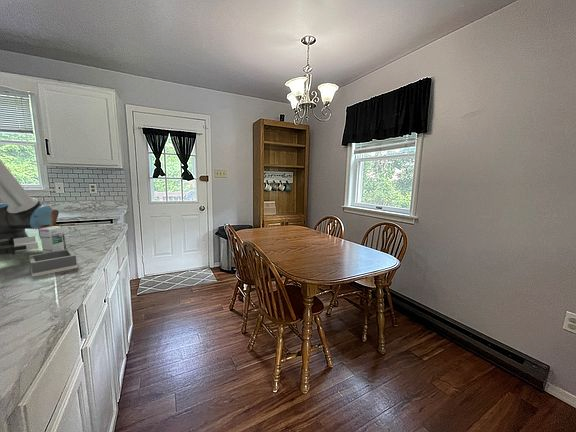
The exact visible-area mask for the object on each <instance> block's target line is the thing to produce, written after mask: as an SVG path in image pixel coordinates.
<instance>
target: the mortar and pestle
mask: <svg viewBox="0 0 576 432" xmlns="http://www.w3.org/2000/svg"><path fill="white" fill-rule="evenodd" d="M59 214H60V213H59V210H57V209H53V210H52V211H51V221H50V224H49V225H41V226H38V229H37V231H38V236H39V238H40V239H39V240H41V237H40V231H39V229H42V228H48V227H53V226H61V227H63V224H61V223H59V224H58V223H57V221H58V217H59Z"/></svg>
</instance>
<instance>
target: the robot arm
mask: <svg viewBox="0 0 576 432" xmlns="http://www.w3.org/2000/svg"><path fill="white" fill-rule="evenodd" d="M0 199H1V200H2V201H3V202H4V203H0V256H2V255H15V254H16V253H17V252H18V253H19V252H24V251H31V250H36V249H37V250H38V249H39V243H38V241H37V240H36V236H33V235H32V236H29V235H28V233H27V232H26V230H38V226H41V225H49V224H50V221H51V211H52V210H54V209H53V208H52V207H50V206H49V205H45V204H42V202H40V200H39V199H38V198H37V197H31V196H30V194H29V193H28V192H27V191H26V190H25V188H24V187H23V185H22V184H21V182H19V181H18V179H17V178H16V177H15V176H14V175H13V173H12V172H11V171H10V170H9V168H8V167H7V166H6V165H5V164H4V163H3V161H2V160H1V159H0Z"/></svg>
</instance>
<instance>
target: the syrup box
mask: <svg viewBox="0 0 576 432" xmlns="http://www.w3.org/2000/svg"><path fill="white" fill-rule="evenodd" d="M39 231H40V237H41V239H40V243H41V249H42V254H43V253H49V252H56V251H62V250H67V243H66V237H65V231H64V226H62V227H61V226H53V227H48V228H42V229H39ZM39 231H38V232H39ZM40 237H39V238H40Z"/></svg>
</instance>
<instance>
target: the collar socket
mask: <svg viewBox="0 0 576 432" xmlns="http://www.w3.org/2000/svg"><path fill="white" fill-rule="evenodd" d="M28 260H29V269H30V272H31V275H32V278H34V277H38V276H39V277H40V276H44V275H48V274H53V273H58V272H64V271H69V270H73V269H78V268H79V267H78V263H77V256H76V254H75V253H74V251H72V249H70V248H69V249H66V250H62V251H56V252H49V253H43V252H42V253H38V254H33V255H32V254H31V255H28Z"/></svg>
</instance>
